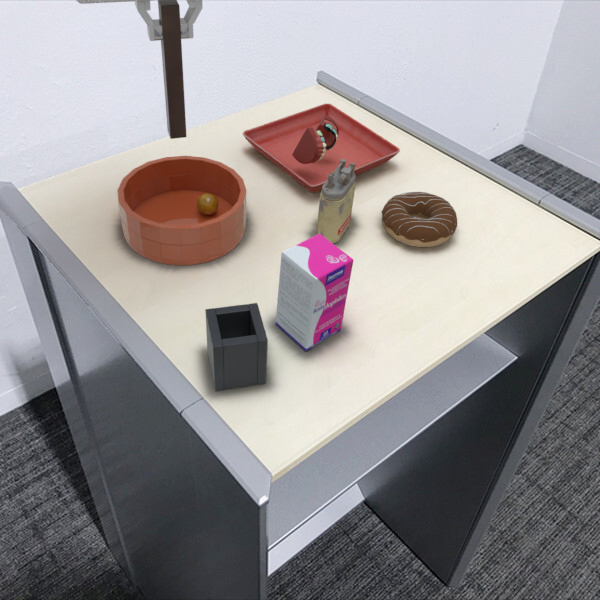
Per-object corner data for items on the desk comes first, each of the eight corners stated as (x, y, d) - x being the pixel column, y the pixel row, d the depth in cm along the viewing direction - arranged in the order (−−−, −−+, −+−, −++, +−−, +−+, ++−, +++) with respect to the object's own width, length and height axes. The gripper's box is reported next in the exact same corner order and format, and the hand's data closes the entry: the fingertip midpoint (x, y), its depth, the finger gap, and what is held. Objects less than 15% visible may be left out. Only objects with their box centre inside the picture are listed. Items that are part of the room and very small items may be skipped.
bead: (190, 208, 91) (200, 188, 91) (195, 210, 94) (205, 190, 94) (210, 217, 91) (220, 197, 91) (214, 219, 94) (224, 200, 94)
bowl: (127, 272, 85) (121, 234, 80) (120, 196, 96) (114, 160, 92) (255, 258, 88) (256, 221, 84) (234, 186, 100) (234, 151, 95)
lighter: (334, 247, 91) (342, 185, 84) (309, 239, 92) (315, 177, 85) (353, 220, 96) (362, 159, 89) (329, 212, 97) (336, 151, 90)
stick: (170, 139, 82) (160, 6, 71) (167, 131, 84) (157, -1, 73) (186, 137, 83) (179, 5, 72) (183, 129, 84) (175, -2, 73)
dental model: (334, 154, 104) (309, 175, 98) (313, 137, 104) (287, 158, 98) (350, 126, 99) (324, 147, 94) (328, 109, 100) (301, 129, 94)
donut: (436, 263, 90) (443, 240, 87) (366, 234, 93) (370, 211, 90) (465, 224, 96) (472, 201, 94) (399, 198, 100) (403, 176, 97)
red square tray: (310, 205, 97) (312, 186, 95) (240, 149, 107) (240, 131, 105) (399, 168, 106) (402, 149, 104) (326, 119, 116) (328, 102, 113)
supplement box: (307, 354, 76) (315, 279, 69) (274, 324, 79) (277, 250, 72) (343, 331, 79) (355, 257, 71) (310, 303, 82) (317, 230, 75)
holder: (215, 391, 72) (213, 347, 67) (207, 353, 76) (205, 309, 71) (266, 383, 73) (267, 340, 68) (256, 346, 77) (257, 302, 72)
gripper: (255, -111, 71) (252, 21, 80) (51, -111, 65) (75, 32, 74) (272, -95, 66) (267, 43, 76) (56, -93, 61) (80, 56, 70)
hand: (170, 37), depth 75 cm, fingers closed on stick, 2 cm apart
